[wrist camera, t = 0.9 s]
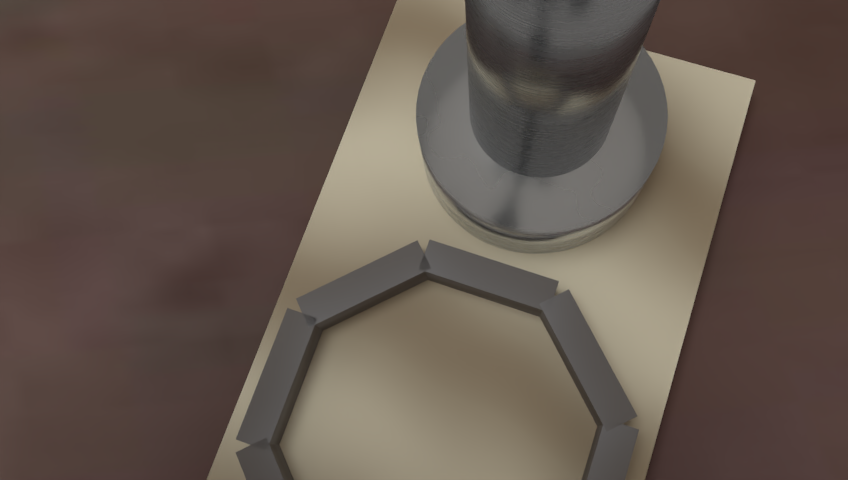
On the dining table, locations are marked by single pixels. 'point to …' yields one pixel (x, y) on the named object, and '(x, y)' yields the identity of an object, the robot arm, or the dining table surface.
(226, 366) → the dining table surface
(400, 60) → the carrier board
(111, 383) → the dining table surface
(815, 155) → the dining table surface
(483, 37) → the round base post
